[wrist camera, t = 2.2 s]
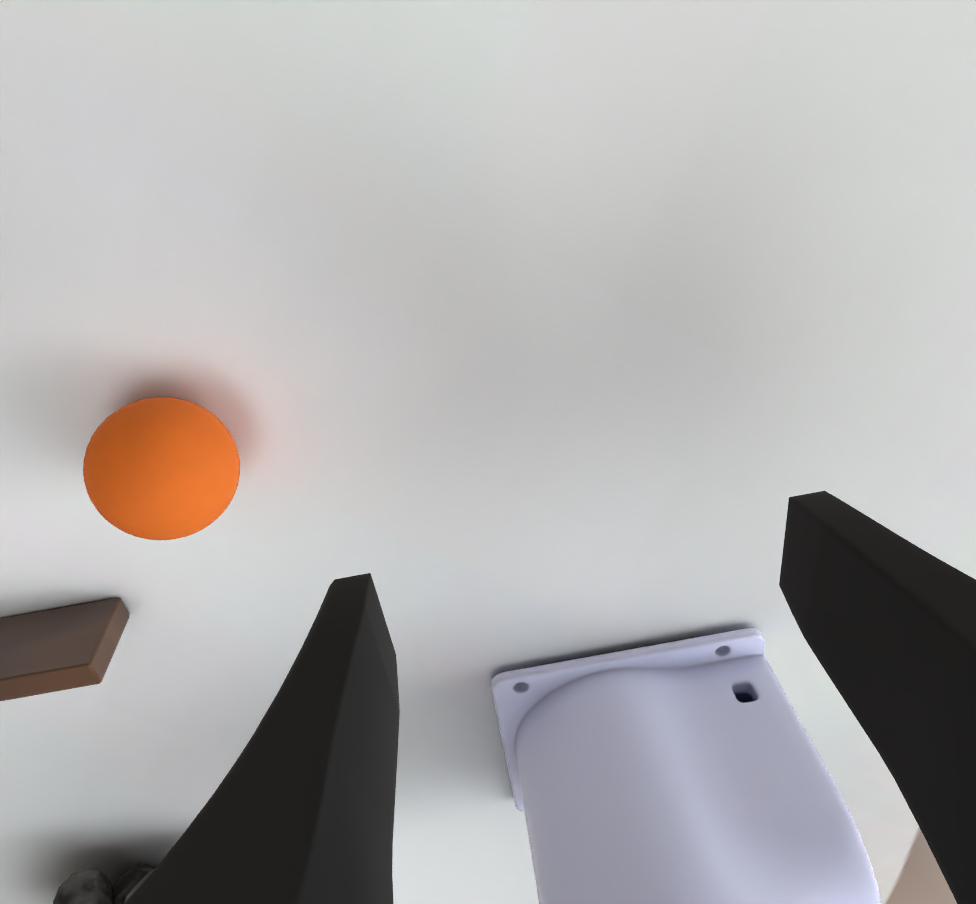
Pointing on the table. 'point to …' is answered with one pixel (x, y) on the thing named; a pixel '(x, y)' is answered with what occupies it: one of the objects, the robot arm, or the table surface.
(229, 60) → the table surface
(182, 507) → the ball
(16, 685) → the brown u-shaped wall
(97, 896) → the fruit
